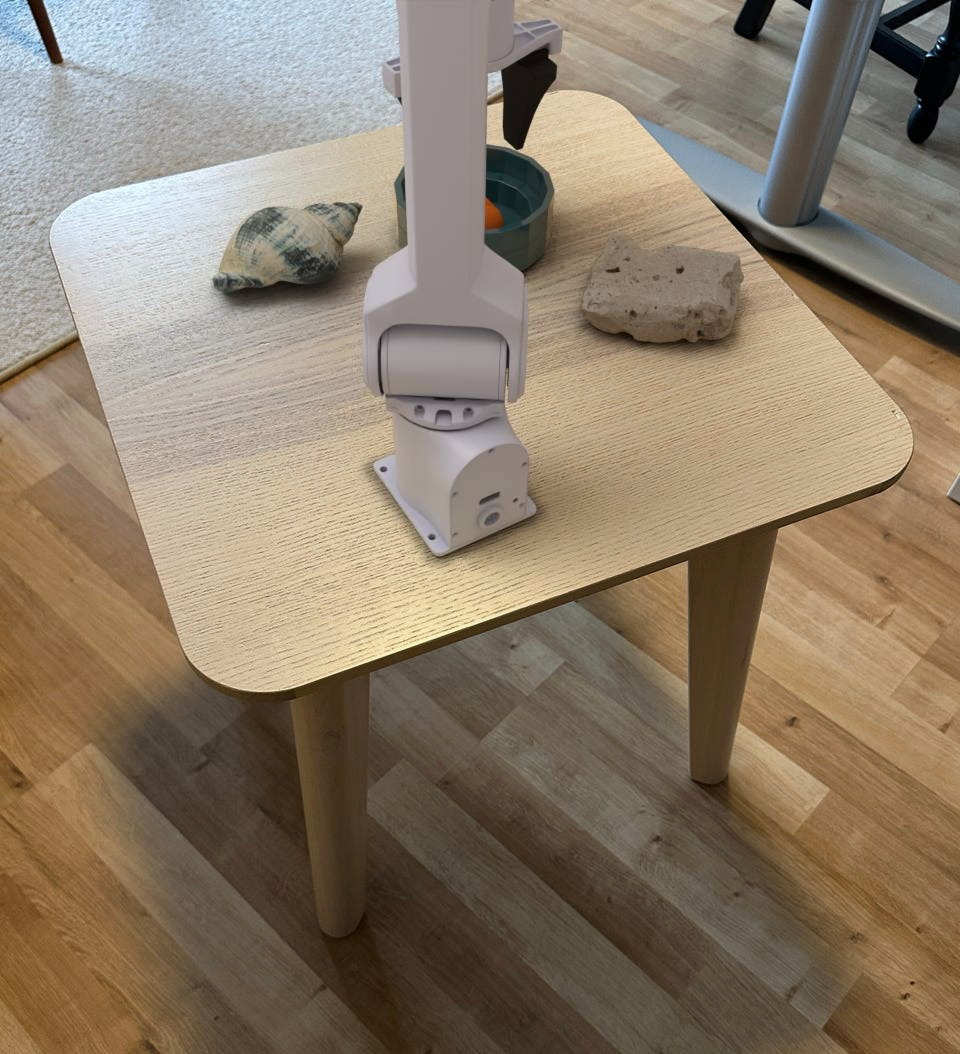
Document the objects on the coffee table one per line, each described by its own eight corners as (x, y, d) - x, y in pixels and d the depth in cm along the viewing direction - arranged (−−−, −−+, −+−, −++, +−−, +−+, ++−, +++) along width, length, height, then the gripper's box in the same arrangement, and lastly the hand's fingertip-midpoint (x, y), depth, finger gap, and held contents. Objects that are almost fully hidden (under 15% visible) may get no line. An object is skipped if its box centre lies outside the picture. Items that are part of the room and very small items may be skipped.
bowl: (578, 254, 92) (584, 204, 88) (444, 303, 88) (443, 252, 84) (499, 178, 100) (500, 128, 96) (371, 219, 95) (367, 169, 91)
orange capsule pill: (505, 247, 93) (513, 213, 90) (474, 251, 91) (481, 217, 89) (470, 211, 96) (477, 178, 94) (439, 215, 94) (446, 181, 92)
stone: (571, 265, 91) (574, 349, 85) (585, 208, 86) (588, 293, 80) (725, 283, 92) (738, 367, 86) (746, 227, 87) (762, 312, 81)
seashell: (227, 275, 92) (367, 273, 92) (209, 297, 86) (361, 294, 86) (218, 198, 90) (363, 196, 90) (199, 214, 83) (356, 212, 83)
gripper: (531, -58, 82) (523, 110, 92) (358, -17, 77) (370, 156, 87) (583, -21, 78) (568, 150, 88) (405, 24, 73) (411, 199, 83)
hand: (473, 156), depth 87 cm, fingers open, 7 cm apart
